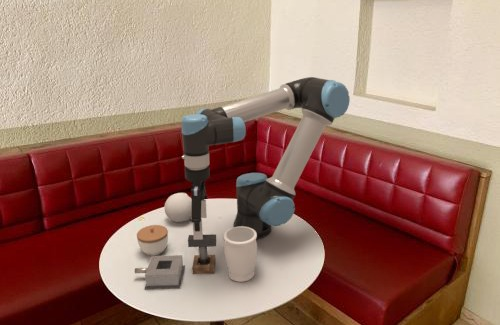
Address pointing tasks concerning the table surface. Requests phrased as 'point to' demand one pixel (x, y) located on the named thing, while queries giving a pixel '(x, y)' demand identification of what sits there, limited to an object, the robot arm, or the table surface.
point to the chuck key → (203, 246)
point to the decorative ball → (178, 207)
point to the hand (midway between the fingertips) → (200, 227)
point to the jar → (240, 252)
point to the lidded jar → (153, 239)
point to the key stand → (203, 268)
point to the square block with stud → (163, 272)
